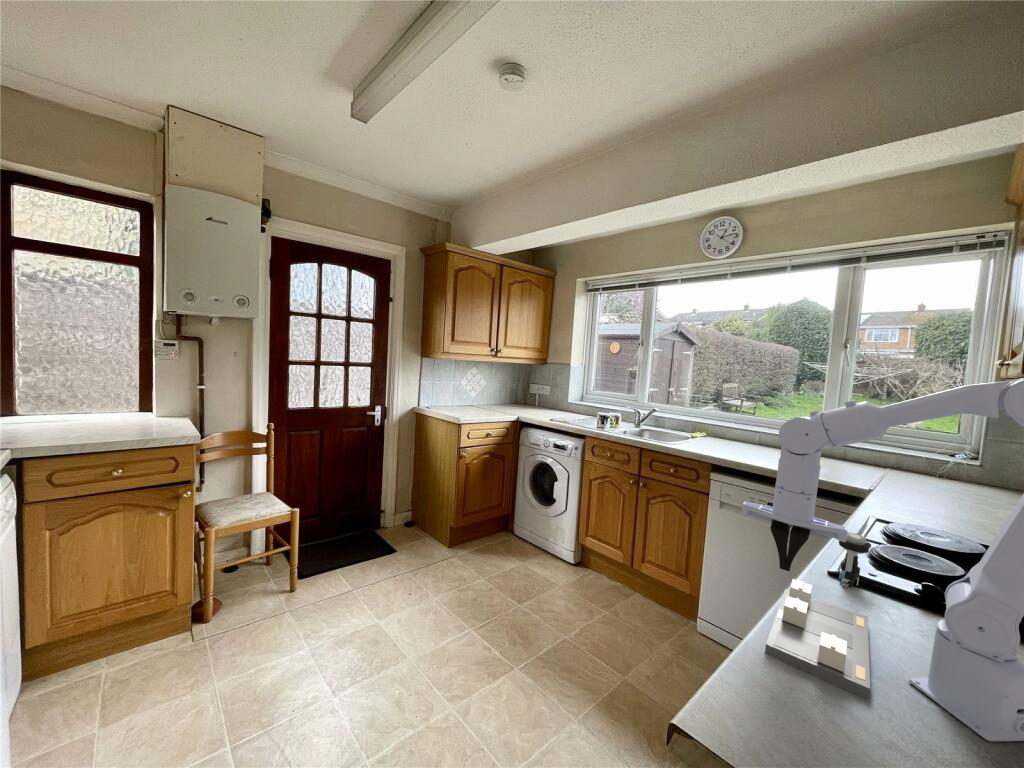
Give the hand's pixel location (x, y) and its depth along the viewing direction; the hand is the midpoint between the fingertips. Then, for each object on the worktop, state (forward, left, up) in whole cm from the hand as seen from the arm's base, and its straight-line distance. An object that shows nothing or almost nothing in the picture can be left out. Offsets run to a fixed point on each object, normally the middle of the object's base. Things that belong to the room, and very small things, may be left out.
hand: (785, 568), depth 71 cm
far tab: (+4, -7, -8) cm, 11 cm away
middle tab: (-2, -2, -8) cm, 8 cm away
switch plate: (-4, -4, -10) cm, 11 cm away
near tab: (-11, 0, -8) cm, 13 cm away
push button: (+13, -26, -10) cm, 30 cm away
